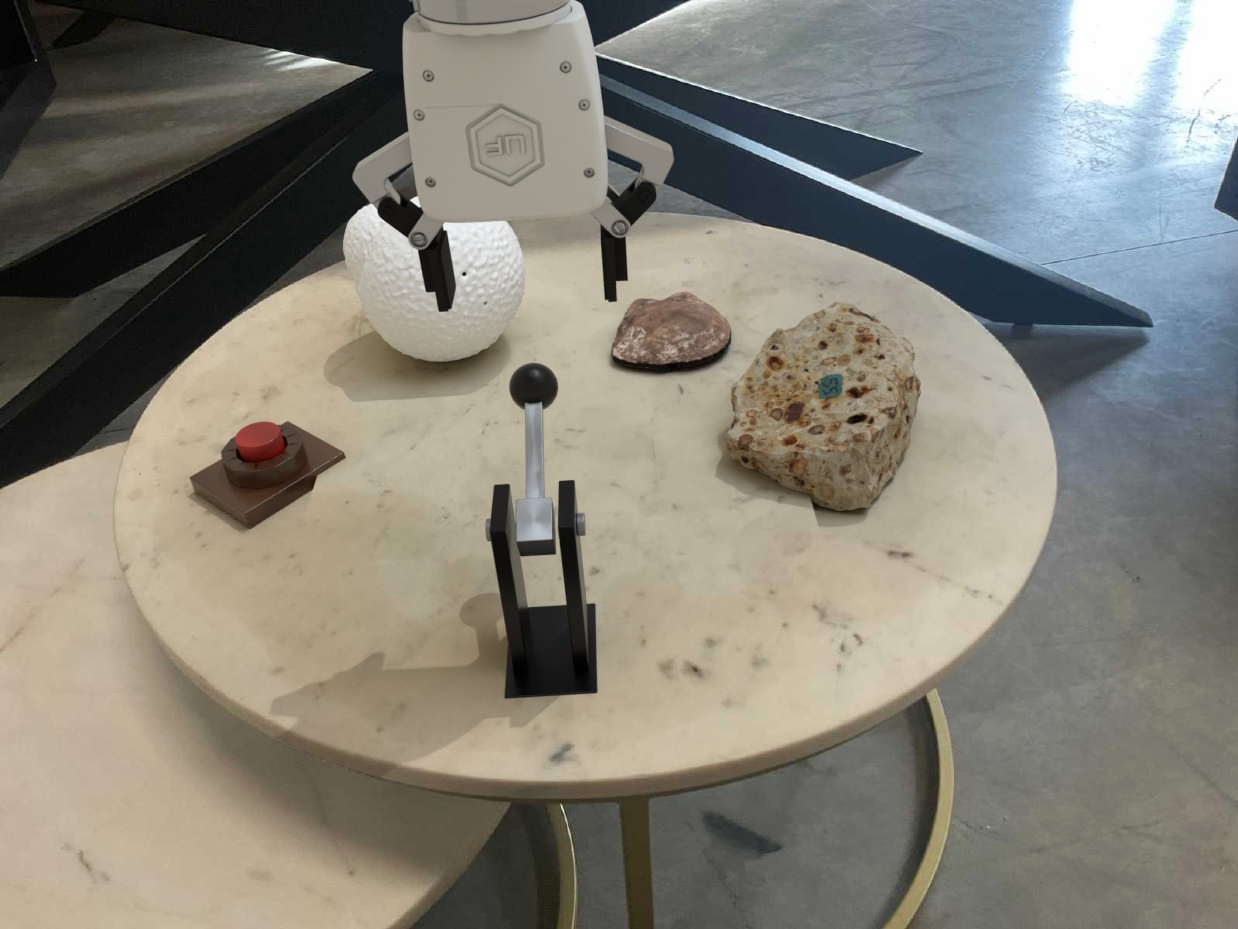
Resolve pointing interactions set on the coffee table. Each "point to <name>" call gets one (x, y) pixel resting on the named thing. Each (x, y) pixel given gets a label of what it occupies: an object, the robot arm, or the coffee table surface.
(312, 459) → the control block
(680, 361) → the shell
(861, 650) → the coffee table surface
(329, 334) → the coffee table surface
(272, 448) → the button
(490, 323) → the decorative orb
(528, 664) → the bracket
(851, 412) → the rock
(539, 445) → the lever
